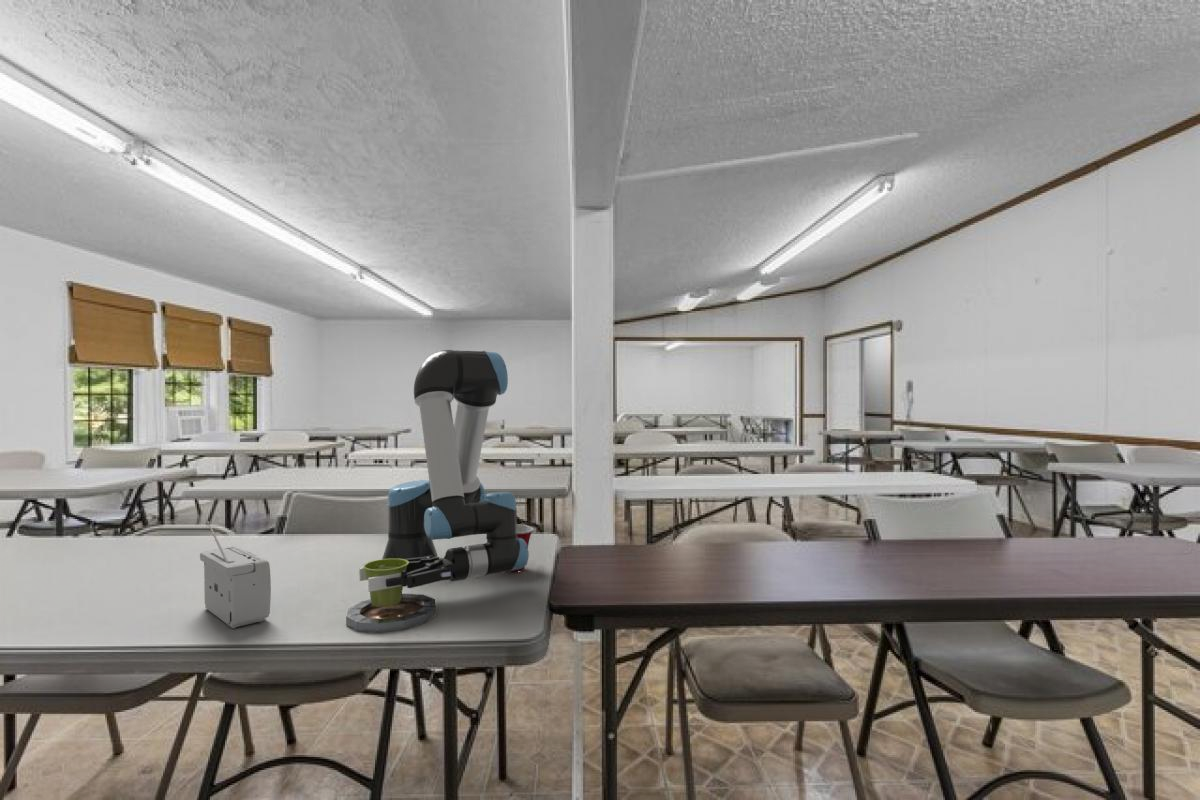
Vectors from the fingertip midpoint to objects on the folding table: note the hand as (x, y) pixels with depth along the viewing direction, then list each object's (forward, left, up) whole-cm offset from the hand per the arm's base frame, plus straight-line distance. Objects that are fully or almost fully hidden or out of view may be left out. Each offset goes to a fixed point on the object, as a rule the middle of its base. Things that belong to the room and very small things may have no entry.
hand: (364, 579), depth 126 cm
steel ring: (+1, +6, -8) cm, 10 cm away
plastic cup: (-24, +37, -8) cm, 44 cm away
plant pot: (-1, +4, -6) cm, 8 cm away
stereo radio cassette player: (-12, -27, -8) cm, 31 cm away
